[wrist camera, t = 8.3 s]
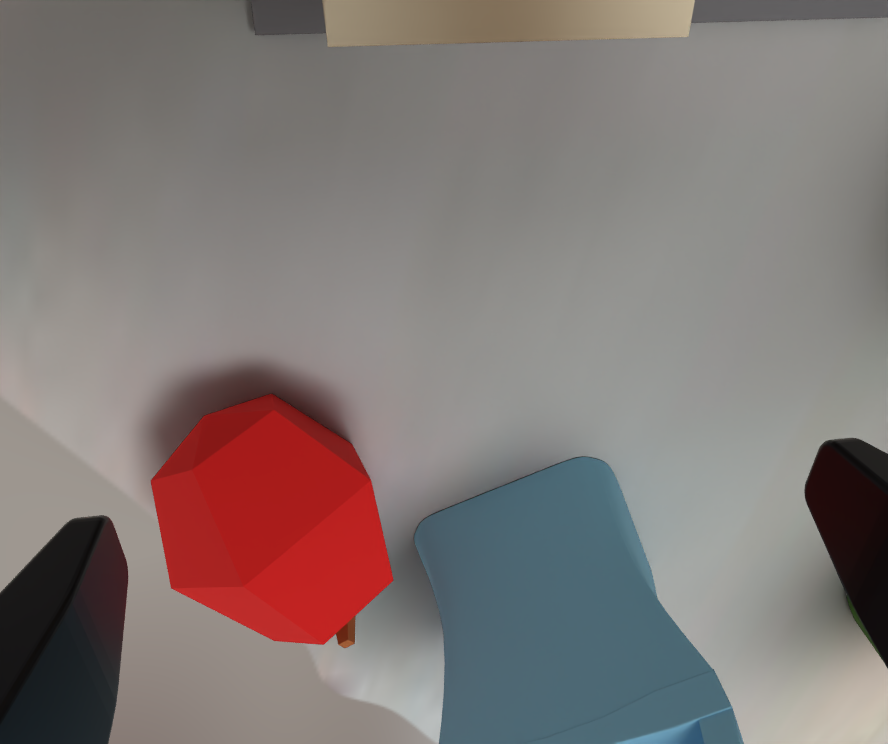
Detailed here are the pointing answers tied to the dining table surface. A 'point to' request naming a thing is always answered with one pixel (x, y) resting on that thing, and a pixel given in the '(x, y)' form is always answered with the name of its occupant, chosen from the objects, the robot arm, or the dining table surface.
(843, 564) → the robot arm
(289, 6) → the mat
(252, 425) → the apple
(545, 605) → the vase
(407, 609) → the dining table surface
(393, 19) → the birch cube
